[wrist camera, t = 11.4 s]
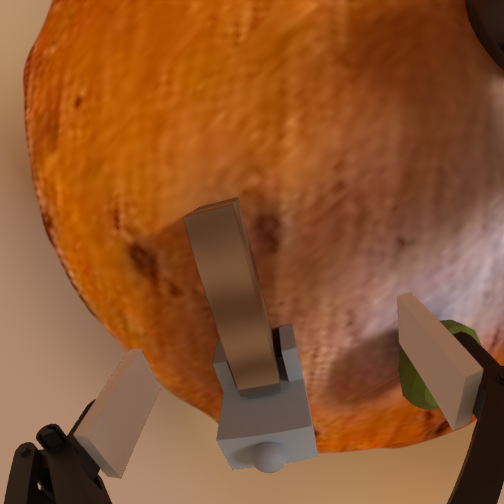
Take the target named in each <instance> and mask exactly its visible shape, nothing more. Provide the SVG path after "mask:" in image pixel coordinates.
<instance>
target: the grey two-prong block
mask: <svg viewBox="0 0 504 504" xmlns="http://www.w3.org/2000/svg"><path fill="white" fill-rule="evenodd" d="M279 334H280V343H281V352H282V357H278V361H279V373H280V385H281V390H280V391H275V392H269V393H264V394H258V395H252V396H246V397H241V396H240V393H239V391H238V388H237V385H236V382H235V380H234V377H233V374H232V371H231V368H230V366H229V363H228V360H227V357H226V354H225V351H224V348H223V345H222V342H221V339H218V341H217V346H216V350H215V354H214V358H213V363H212V365H213V367H214V370H215V372H216V375H217V377H218V380H219V382H220V385H221V387H222V390H223V392H224V394H223V401H222V407H221V414H220V420H219V427H218V433H217V442H218V444H219V446H220V448H221V450H222V452H223V454H224V456H225V457H226V459H227V461H228V463H229V465H230V466H231V468H232V470H233V469H244V468H253V467H256V468H257V469H258V470H260V471H261V472H265V473H274V472H277V471H279V470H280V469H282V468H283V467H284V465H285V464H286V463H289V462H295V461H300V460H306V459H311V458H315V457H318V452H317V446H316V440H315V435H314V429H313V424H312V418H311V413H310V407H309V402H308V397H307V391H306V386H305V381H304V376H303V372H302V367H301V362H300V358H299V353H298V349H297V344H296V340H295V335H294V331H293V326H292V324H289V325H285V326H280V327H279Z"/></svg>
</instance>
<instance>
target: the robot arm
mask: <svg viewBox="0 0 504 504" xmlns="http://www.w3.org/2000/svg"><path fill="white" fill-rule="evenodd" d="M466 6H467V11H468V15H469V18H470V21H471V24H472V26H473V28H474V30H475V32H476V34H477V36H478V38H479V39H480V41H481V43H482V44H483V46H484V47H485V49H486V50H487V51H488V53H489V54H490V55H491V57H492V58H493V59H494V60H495V61H496V62H497V64H498V65H499V66H500V67H502V68H503V69H504V0H466ZM397 305H398V326H399V344H400V345H401V347H402V348H403V350H404V351H405V353H406V354H407V356H408V358H409V359H410V361H411V362H412V364H413V365H414V367H415V368H416V370H417V372H418V373H419V375H420V376H421V378H422V380H423V381H424V383H425V384H426V386H427V388H428V389H429V391H430V392H431V394H432V396H433V397H434V399H435V401H436V402H437V404H438V406H439V407H440V409H441V411H442V412H443V414H444V416H445V417H446V419H447V421H448V423H449V424H450V426H451V428H452V430H453V431H454V430H456V429H458V428H460V427H463V426H465V425H467V424H469V423H470V421H471V418H472V414H474V415H475V417H476V418H477V423H476V426H475V429H474V432H473V434H472V439H471V443H470V446H469V449H468V452H467V455H466V458H465V460H464V463H463V466H462V469H461V471H460V474H459V476H458V479H457V482H456V484H455V486H454V489H453V491H452V494H451V496H450V498H449V500H448V502H447V504H497V502H498V499H499V496H500V493H501V489H502V486H503V482H504V366H500V365H499V364H498V363H497V362H496V360H495V359H494V358H493V357H492V356H491V355H490V354H489V353H488V352H487V351H486V350H485V349H484V348H482V346H481V345H480V344H479V343H477V341H476V340H475V339H474V338H473V337H472V336H471V335H469V334H467V333H464V332H462V331H460V332H458V333H455V334H453V335H452V334H451V333H450V332H449V331H448V330H447V329H446V328H445V326H444V325H443V324H442V323H441V322H440V321H439V320H438V319H437V318H436V317H435V316H434V315H433V314H432V313H431V312H430V311H429V310H428V309H427V308H426V307H425V306H424V305H423V304H422V303H421V302H420V301H419V300H418V299H417V298H416V297H415V296H414V295H413V294H412V293H411V292H410V293H407V294H403V295H400V296H397ZM159 391H160V386H159V384H158V382H157V380H156V378H155V376H154V374H153V372H152V370H151V368H150V366H149V363H148V361H147V359H146V357H145V355H144V353H143V351H142V348H139V349H131V350H129V351H128V353H127V354H126V356H125V357H124V358H123V360H122V361H121V363H120V364H119V366H118V367H117V369H116V370H115V372H114V373H113V375H112V376H111V378H110V379H109V381H108V382H107V384H106V385H105V387H104V388H103V390H102V391H101V393H100V394H99V396H98V397H97V399H95V400H93V401H92V402H91V403H90V404H89V405H87V407H86V408H85V410H84V411H83V414H81V416H80V417H79V420H78V421H77V422H76V423H75V425H74V426H73V428H72V429H71V431H70V432H69V434H68V436H66V435H65V434H64V432H63V431H62V430H61V428H60V427H59V426H58V425H57V424H49V425H46V426H45V427H43V428H42V429H40V430H39V432H38V433H37V435H36V439H37V441H38V442H39V443H40V444H41V446H42V447H43V448H44V449H43V450H38V449H37V448H36V446H35V445H34V444H33V443H31V442H26V443H24V444H21V445H20V446H19V447H18V448H17V449H16V451H15V454H14V458H13V462H12V466H11V471H10V475H9V480H8V485H7V490H6V495H5V501H4V504H112V502H111V500H110V498H109V495H108V493H107V491H106V488H105V486H104V483H103V481H102V479H101V477H100V476H99V475H98V472H99V470H100V469H101V470H102V471H103V472H104V473H105V474H106V475H107V476H108V477H115V478H122V476H123V473H124V471H125V469H126V466H127V464H128V462H129V459H130V457H131V455H132V452H133V450H134V448H135V445H136V443H137V441H138V438H139V436H140V433H141V431H142V429H143V426H144V424H145V422H146V420H147V418H148V415H149V413H150V411H151V409H152V406H153V404H154V402H155V399H156V397H157V395H158V393H159ZM37 483H39V484H40V485H41V489H40V490H39V489H38V484H37Z"/></svg>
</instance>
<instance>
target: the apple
mask: <svg viewBox="0 0 504 504" xmlns="http://www.w3.org/2000/svg"><path fill="white" fill-rule="evenodd" d="M440 322H441V323H442V324H443V325H444V326H445V328H446V329H447V330H448V331H449V332H450V333H451V334H452V335H453V334H455V333H458V332H460V331H462V332H464V333H467V334H469V335H471V336H472V337H473V338H474V339H475V340H476V341H477V343H479V344H480V341H479V339H478V336H477V334H476V332H475V330H473V329H471V328H469V327H467V326H465V325H463V324H460V323H458V322H456V321H453V320H443V321H440ZM480 345H481V344H480ZM398 370H399V376H400V381H401V387H402V393H403V396H404V397H405V398H406V399H407V400H408V401H409V402H410V403H412V404H413V405H415V406H417V407H419V408H423V409H427V410H431V409H435V408H438V407H439V406H438V404H437V402H436V401H435V399H434V397H433V396H432V394H431V392H430V391H429V389H428V388H427V386H426V384H425V383H424V381H423V380H422V378H421V376H420V375H419V373H418V372H417V370H416V368H415V367H414V365H413V364H412V362H411V361H410V359H409V358H408V356H407V354H406V353H405V351H404V350H403V348H402V349H401V352H400V359H399V369H398Z"/></svg>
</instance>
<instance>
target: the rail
mask: <svg viewBox="0 0 504 504" xmlns="http://www.w3.org/2000/svg"><path fill="white" fill-rule="evenodd" d="M183 220H184V224H185V227H186V231H187V234H188V238H189V241H190V244H191V248H192V251H193V255H194V258H195V261H196V265H197V268H198V271H199V274H200V278H201V281H202V284H203V287H204V291H205V294H206V297H207V300H208V303H209V306H210V309H211V312H212V315H213V319H214V322H215V325H216V328H217V331H218V334H219V337H220V339H221V342H222V345H223V348H224V351H225V354H226V357H227V360H228V363H229V366H230V368H231V371H232V374H233V377H234V380H235V382H236V385H237V388H238V391H239V393H240V396H241V397H246V396H252V395H258V394H264V393H269V392H275V391H280V390H281V385H280V373H279V361H278V352H277V348H276V344H275V340H274V336H273V332H272V328H271V324H270V320H269V316H268V312H267V308H266V304H265V301H264V297H263V293H262V289H261V285H260V281H259V277H258V273H257V269H256V265H255V261H254V257H253V253H252V250H251V246H250V242H249V238H248V234H247V230H246V226H245V222H244V218H243V214H242V210H241V206H240V202H239V199H238V197H237V198H233V199H229V200H225V201H221V202H217V203H214V204H210V205H206V206H202V207H199V208H197V209H196V210H194V211H193V212H191V213H190V214H188V215H187V216H185V217H184V218H183Z"/></svg>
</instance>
